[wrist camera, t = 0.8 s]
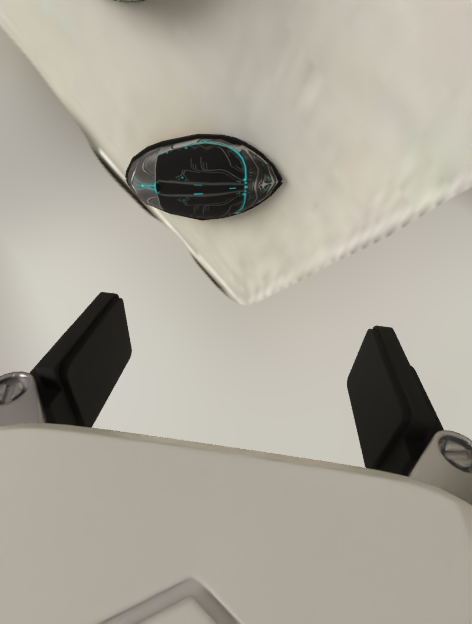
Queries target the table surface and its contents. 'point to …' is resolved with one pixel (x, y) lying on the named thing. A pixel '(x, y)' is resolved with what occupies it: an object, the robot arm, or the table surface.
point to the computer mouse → (202, 176)
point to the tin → (130, 0)
